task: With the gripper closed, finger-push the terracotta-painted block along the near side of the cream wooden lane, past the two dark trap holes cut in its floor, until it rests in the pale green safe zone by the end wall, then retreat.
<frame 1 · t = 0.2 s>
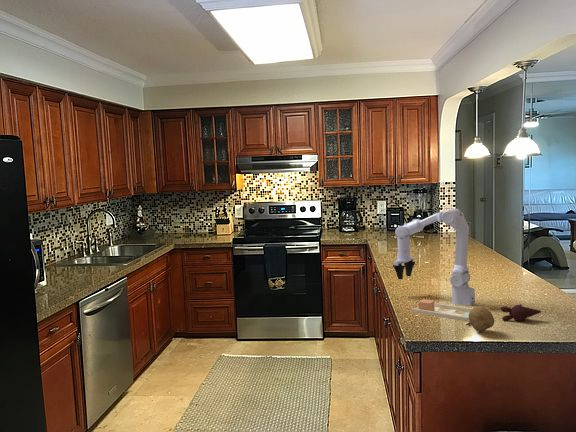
hand: (404, 277, 235), 10 cm above the table, fingers open, 7 cm apart
block: (426, 311, 208), point 1 cm above the table, touching lane
natural sponge: (481, 332, 184), on the table
lane: (447, 316, 205), on the table
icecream: (520, 321, 195), on the table
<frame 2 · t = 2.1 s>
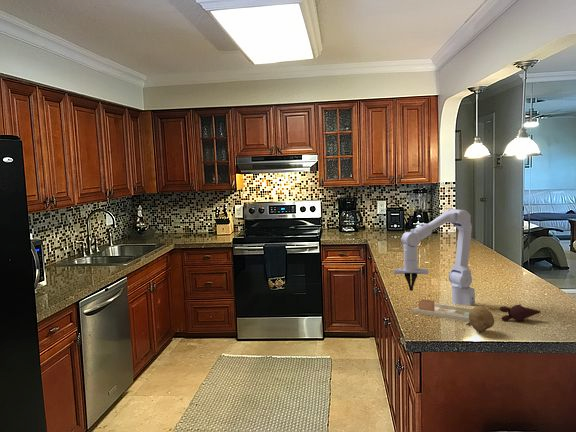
hand: (411, 290, 212), 10 cm above the table, fingers closed
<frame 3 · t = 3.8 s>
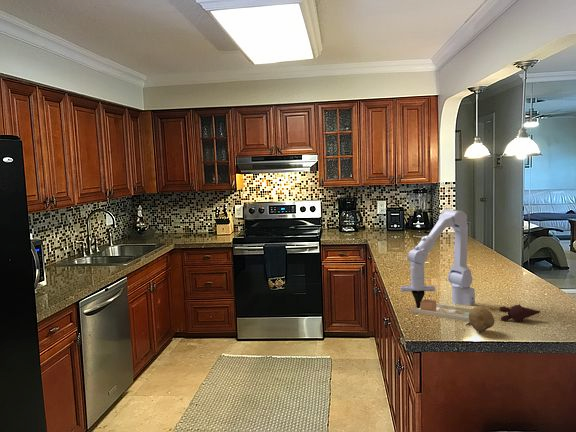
hand: (418, 307, 210), 3 cm above the table, fingers closed
block: (428, 311, 207), point 2 cm above the table, touching gripper
everything else where it was.
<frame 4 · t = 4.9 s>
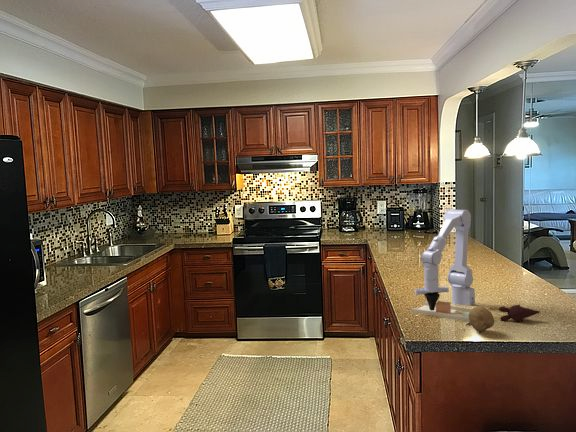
hand: (431, 309, 206), 3 cm above the table, fingers closed
block: (443, 313, 204), point 2 cm above the table, touching gripper
everything else where it was.
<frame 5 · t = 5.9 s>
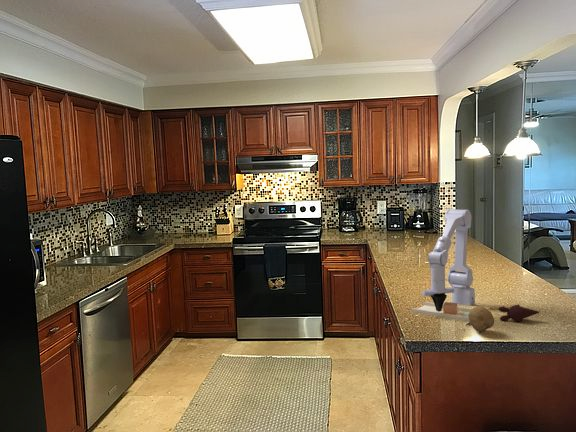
hand: (438, 310, 204), 3 cm above the table, fingers closed
block: (450, 314, 202), point 2 cm above the table, touching gripper
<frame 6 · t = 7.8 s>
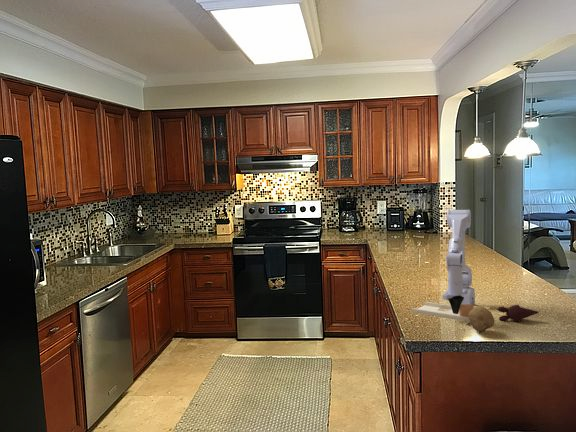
hand: (455, 313, 199), 3 cm above the table, fingers closed
block: (466, 316, 198), point 2 cm above the table, touching gripper, lane
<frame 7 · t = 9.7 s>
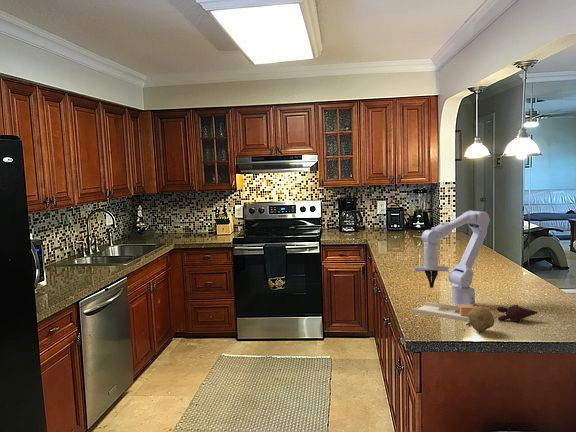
hand: (431, 287, 214), 10 cm above the table, fingers closed
block: (466, 316, 198), point 1 cm above the table, touching lane
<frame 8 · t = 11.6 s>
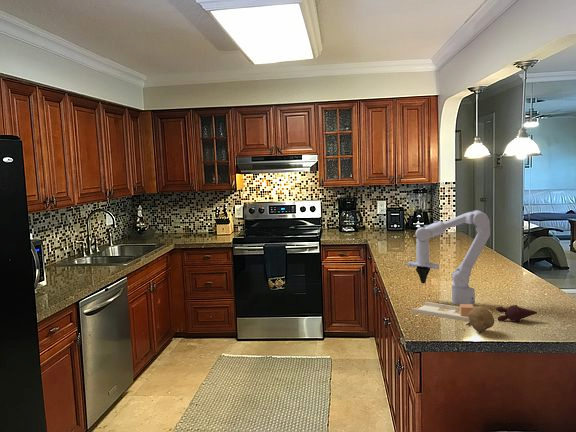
hand: (423, 282, 222), 10 cm above the table, fingers closed
at the end: block 2.2 cm from the target spot on the lane, point 1.5 cm above the lane's base; block tilted 0° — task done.
